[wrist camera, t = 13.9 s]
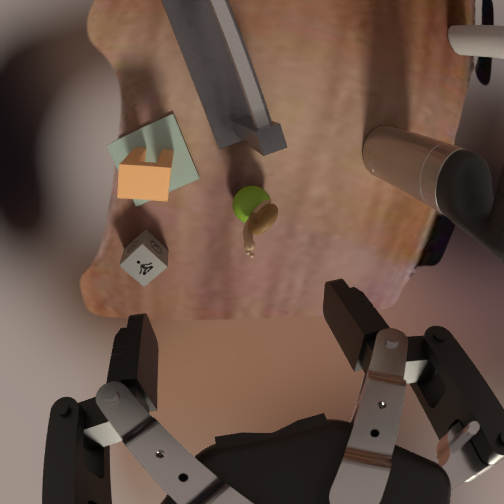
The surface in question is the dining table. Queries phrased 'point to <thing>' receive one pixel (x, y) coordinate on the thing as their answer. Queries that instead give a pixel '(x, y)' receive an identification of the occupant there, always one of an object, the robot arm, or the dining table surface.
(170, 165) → the c link
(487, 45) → the bottle
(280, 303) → the dining table surface
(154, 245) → the dice cube
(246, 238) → the snail figurine
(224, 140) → the rail stand
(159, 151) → the felt mat
